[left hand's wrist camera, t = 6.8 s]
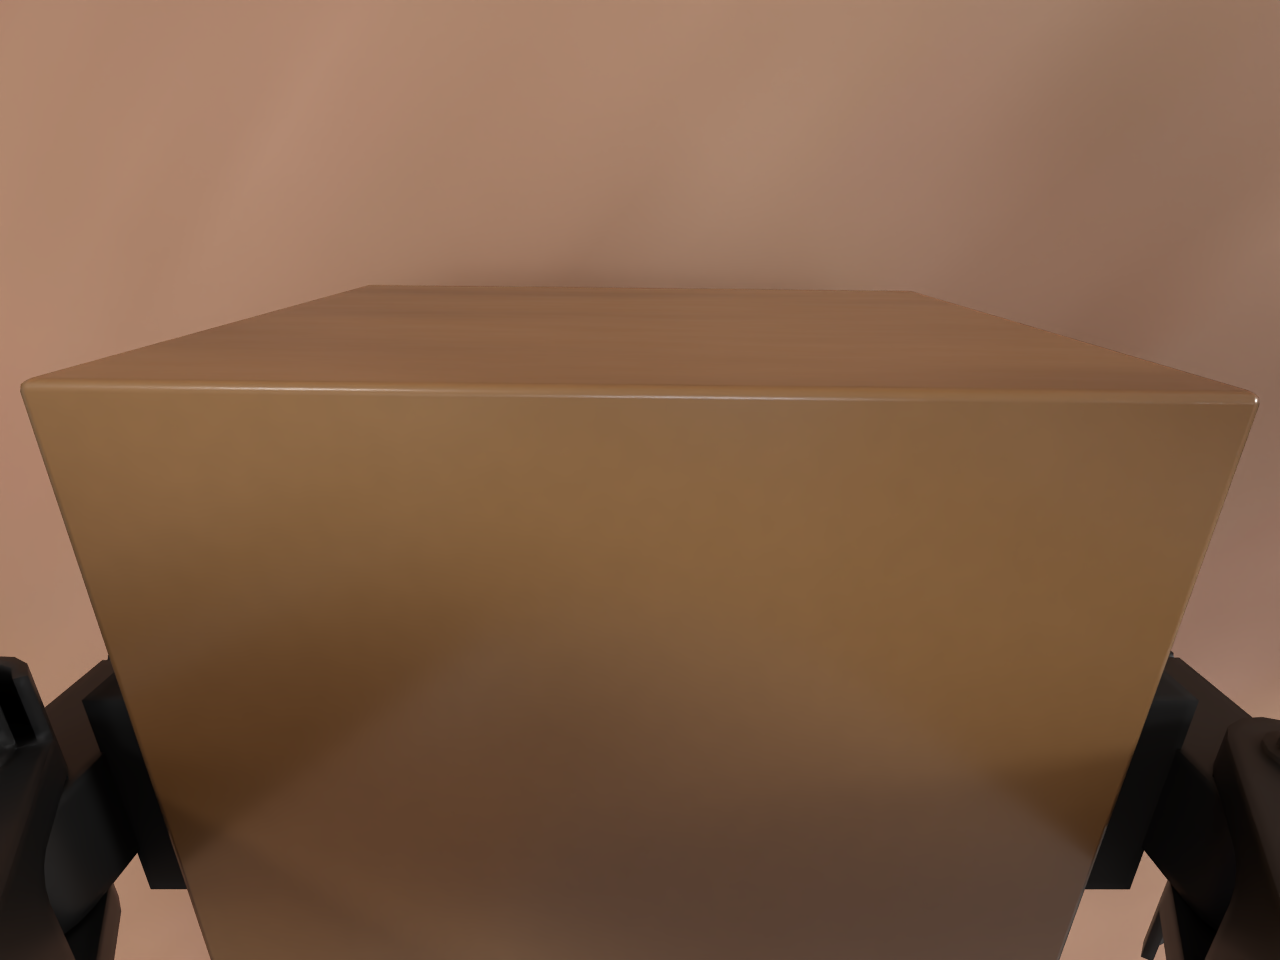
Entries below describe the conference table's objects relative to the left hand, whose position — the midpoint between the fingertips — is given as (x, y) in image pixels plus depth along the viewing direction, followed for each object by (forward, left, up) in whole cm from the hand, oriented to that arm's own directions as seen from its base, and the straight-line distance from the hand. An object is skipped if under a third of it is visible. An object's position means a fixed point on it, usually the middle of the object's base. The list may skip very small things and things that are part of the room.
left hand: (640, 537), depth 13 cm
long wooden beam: (-21, +23, -1) cm, 31 cm away
